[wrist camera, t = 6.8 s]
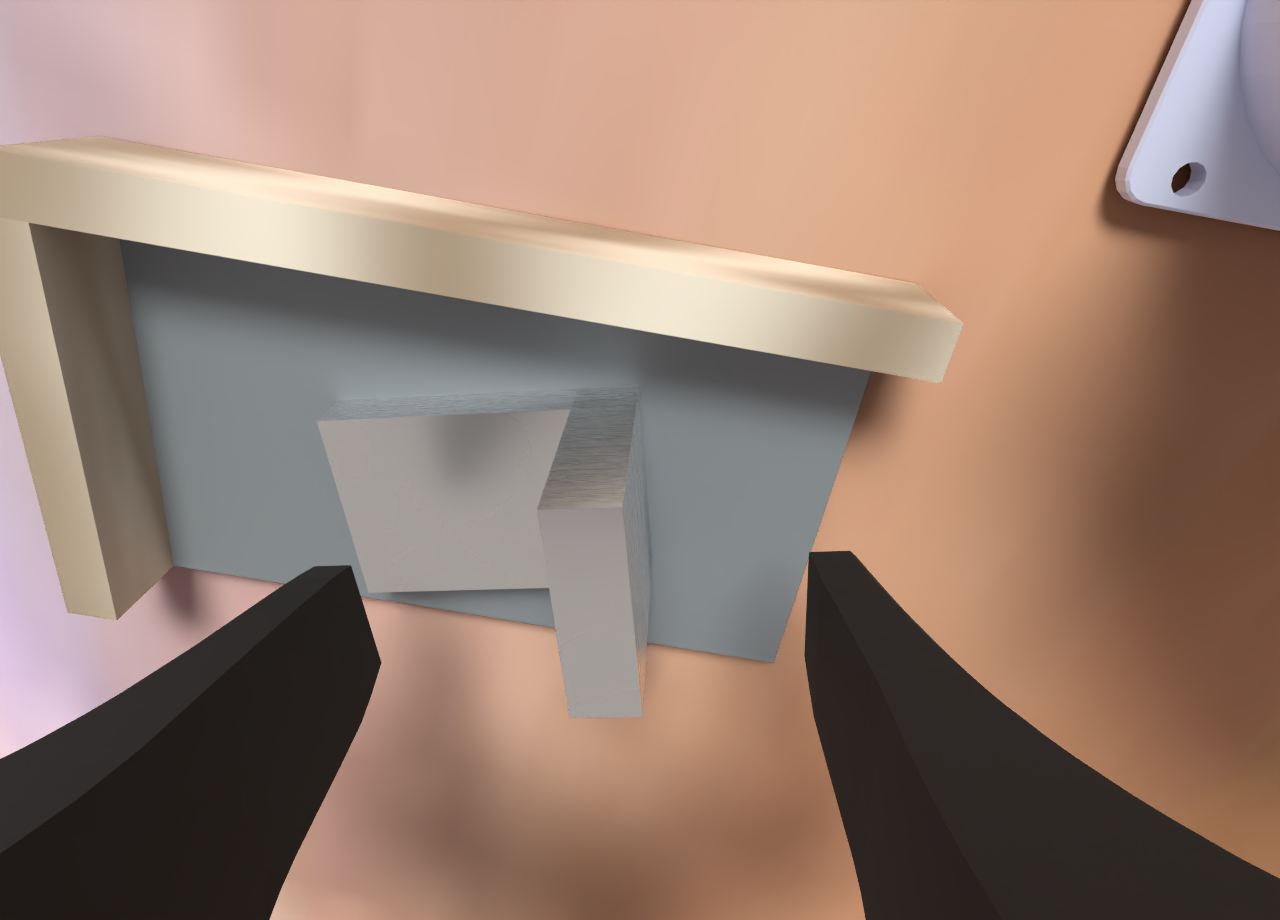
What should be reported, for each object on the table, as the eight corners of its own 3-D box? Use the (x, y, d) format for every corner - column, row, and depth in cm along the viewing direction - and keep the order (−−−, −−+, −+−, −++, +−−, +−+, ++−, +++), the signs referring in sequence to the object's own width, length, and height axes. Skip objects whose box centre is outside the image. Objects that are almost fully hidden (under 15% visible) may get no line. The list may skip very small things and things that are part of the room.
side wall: (136, 198, 13) (28, 222, 11) (189, 550, 17) (117, 620, 15) (81, 189, 13) (-37, 210, 11) (147, 543, 17) (67, 612, 15)
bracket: (638, 385, 14) (621, 507, 10) (652, 556, 16) (642, 717, 12) (338, 400, 14) (209, 521, 11) (385, 565, 16) (290, 721, 12)
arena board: (874, 330, 14) (881, 340, 13) (770, 645, 18) (773, 663, 17) (136, 198, 13) (113, 203, 13) (189, 550, 17) (173, 565, 17)
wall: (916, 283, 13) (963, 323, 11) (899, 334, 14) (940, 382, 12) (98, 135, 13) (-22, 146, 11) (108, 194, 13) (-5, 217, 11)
